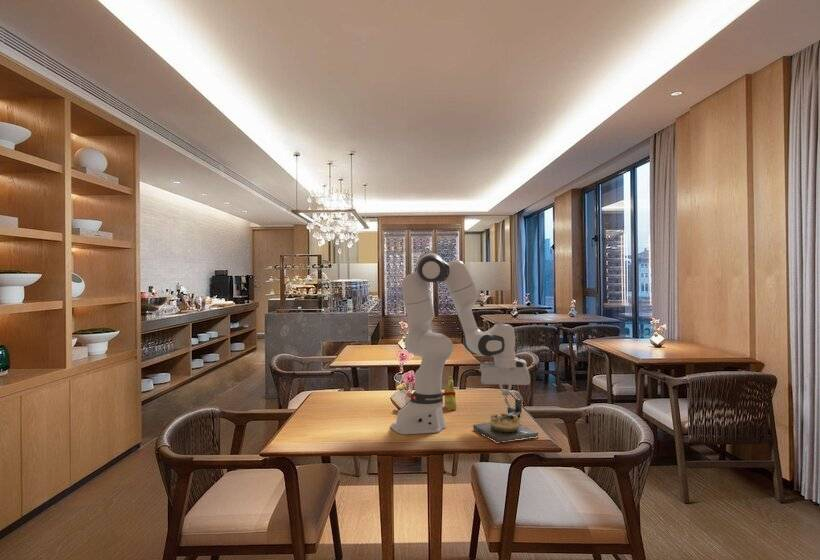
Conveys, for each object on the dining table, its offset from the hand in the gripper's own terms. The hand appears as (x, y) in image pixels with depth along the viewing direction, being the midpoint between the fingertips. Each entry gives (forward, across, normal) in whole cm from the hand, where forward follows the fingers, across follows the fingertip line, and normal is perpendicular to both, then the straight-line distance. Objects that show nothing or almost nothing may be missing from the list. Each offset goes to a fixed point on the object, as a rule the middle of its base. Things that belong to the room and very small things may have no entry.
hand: (505, 394), depth 198 cm
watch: (+13, +3, +14) cm, 19 cm away
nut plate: (+12, -1, -13) cm, 17 cm away
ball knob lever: (+10, +1, -9) cm, 14 cm away
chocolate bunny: (+12, -27, +21) cm, 36 cm away
